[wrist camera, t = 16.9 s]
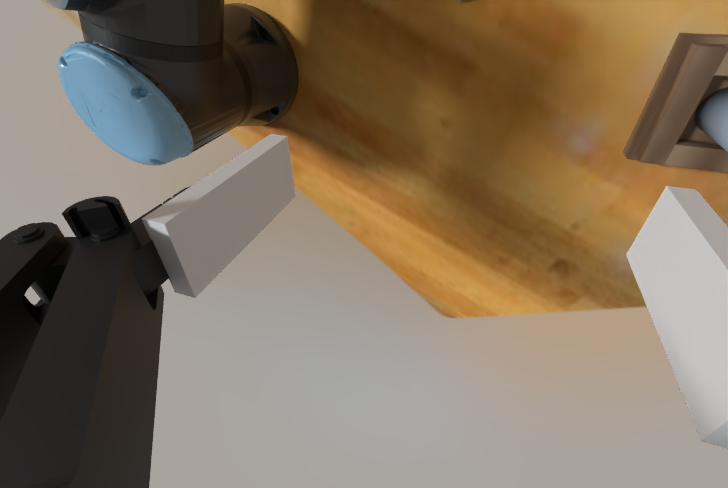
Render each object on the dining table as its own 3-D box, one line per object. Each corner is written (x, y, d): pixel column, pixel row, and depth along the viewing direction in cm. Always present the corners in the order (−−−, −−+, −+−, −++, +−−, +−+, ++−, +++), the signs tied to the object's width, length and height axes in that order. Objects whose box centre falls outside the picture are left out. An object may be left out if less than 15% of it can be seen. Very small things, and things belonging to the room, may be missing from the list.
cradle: (623, 152, 41) (631, 166, 38) (679, 33, 34) (695, 38, 31) (749, 166, 38) (769, 182, 35) (840, 38, 31) (876, 45, 28)
